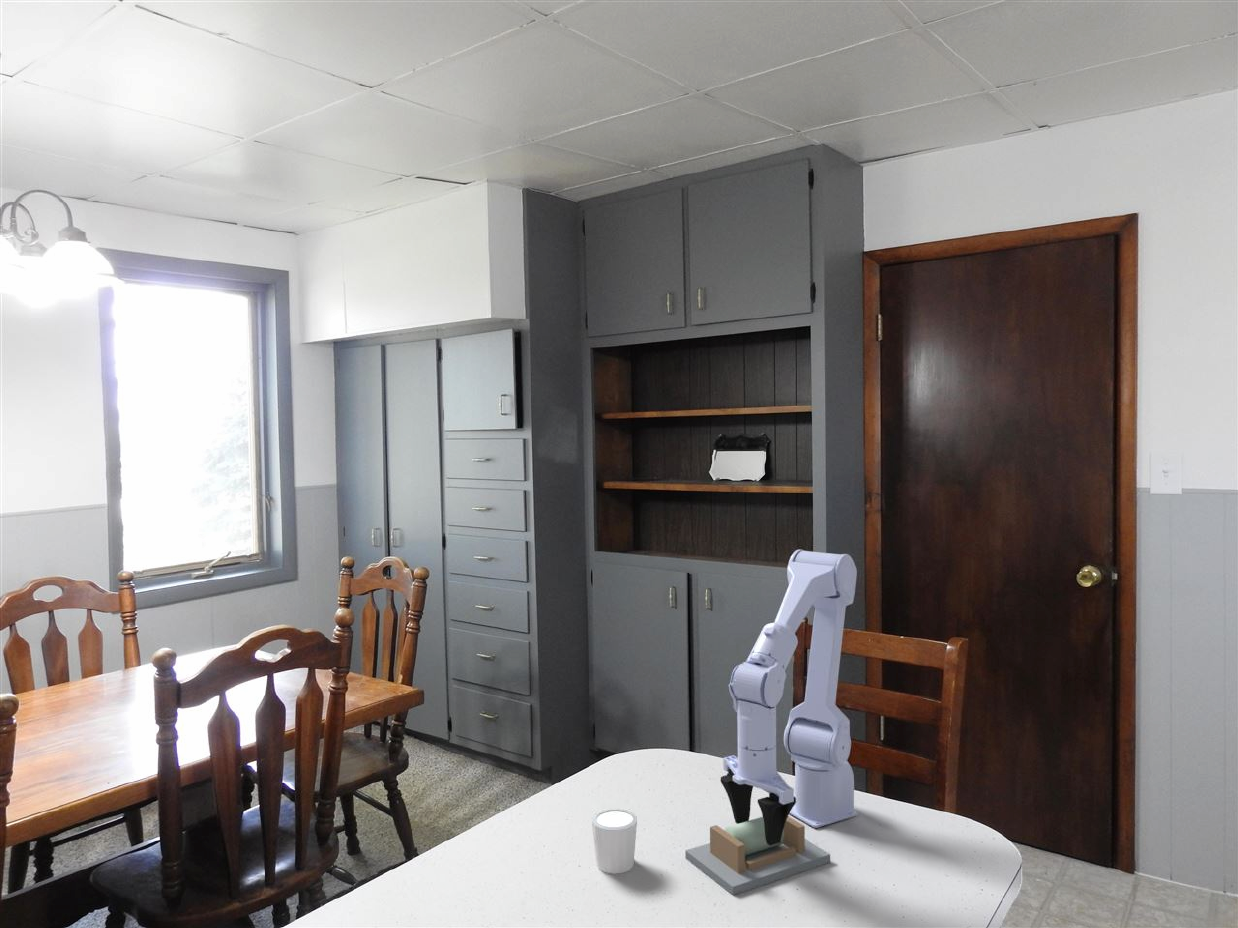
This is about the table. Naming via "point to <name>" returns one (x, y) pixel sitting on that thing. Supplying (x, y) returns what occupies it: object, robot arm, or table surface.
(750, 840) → the roll
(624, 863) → the white cup
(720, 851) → the holder
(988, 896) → the table surface
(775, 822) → the robot arm
